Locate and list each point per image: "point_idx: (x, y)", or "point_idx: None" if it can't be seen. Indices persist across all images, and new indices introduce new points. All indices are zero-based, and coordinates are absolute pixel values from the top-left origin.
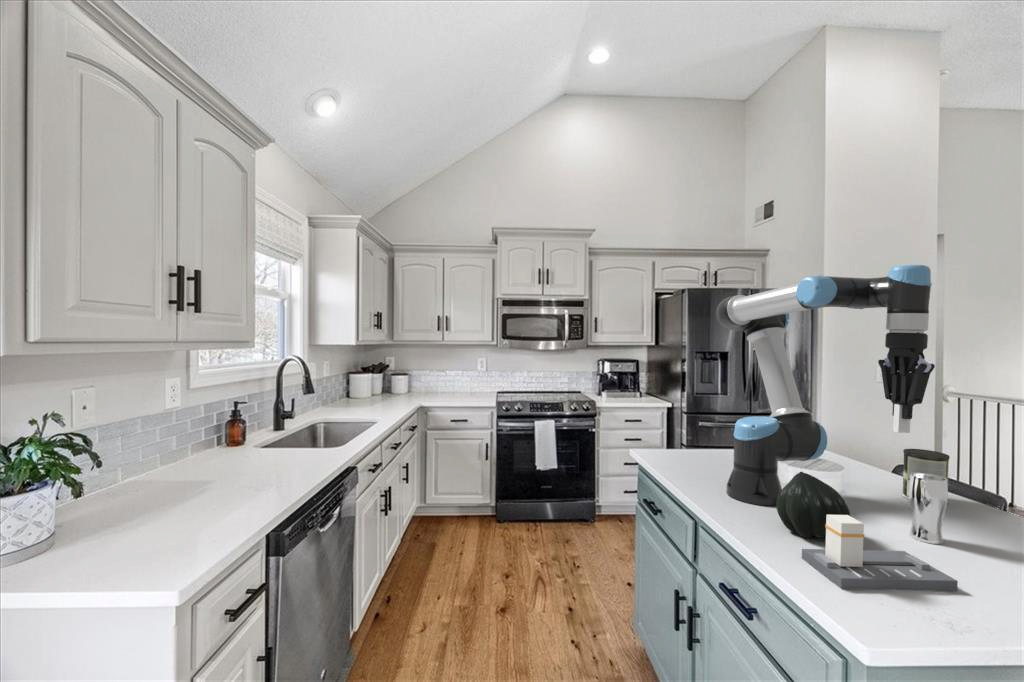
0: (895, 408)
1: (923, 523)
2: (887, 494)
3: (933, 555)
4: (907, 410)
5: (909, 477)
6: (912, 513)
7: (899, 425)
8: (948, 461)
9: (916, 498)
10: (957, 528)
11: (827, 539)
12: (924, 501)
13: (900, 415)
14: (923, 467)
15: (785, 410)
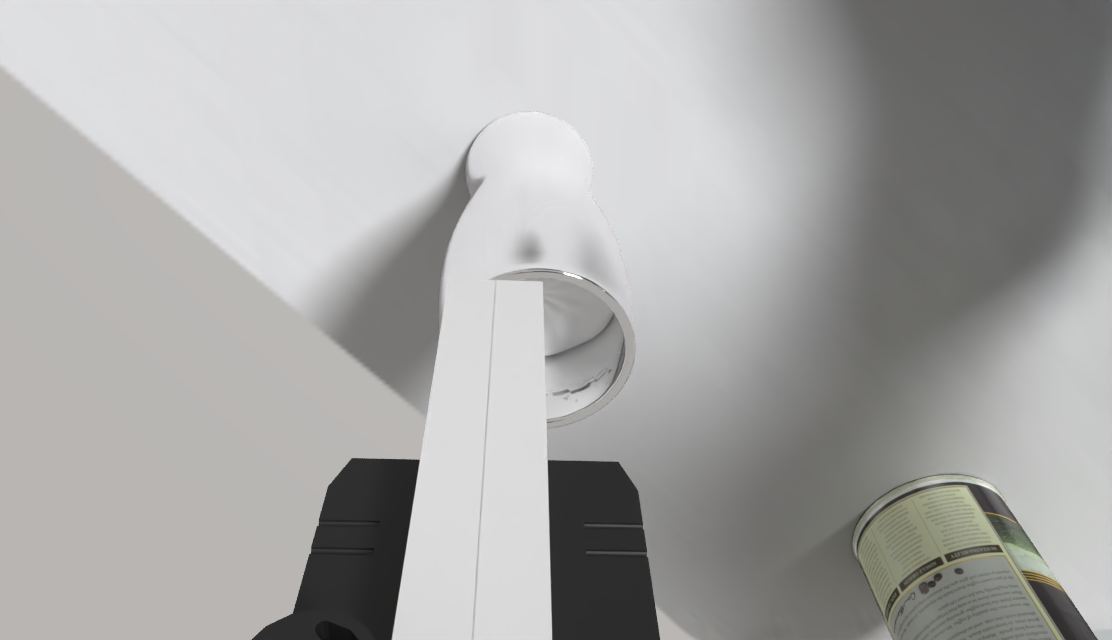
0: (517, 558)
1: (497, 163)
2: (1027, 439)
3: (338, 32)
4: (300, 605)
5: (998, 556)
6: (556, 166)
7: (440, 352)
8: None
9: (517, 196)
10: (631, 398)
11: None
12: (478, 209)
13: (421, 476)
14: (969, 630)
15: None
